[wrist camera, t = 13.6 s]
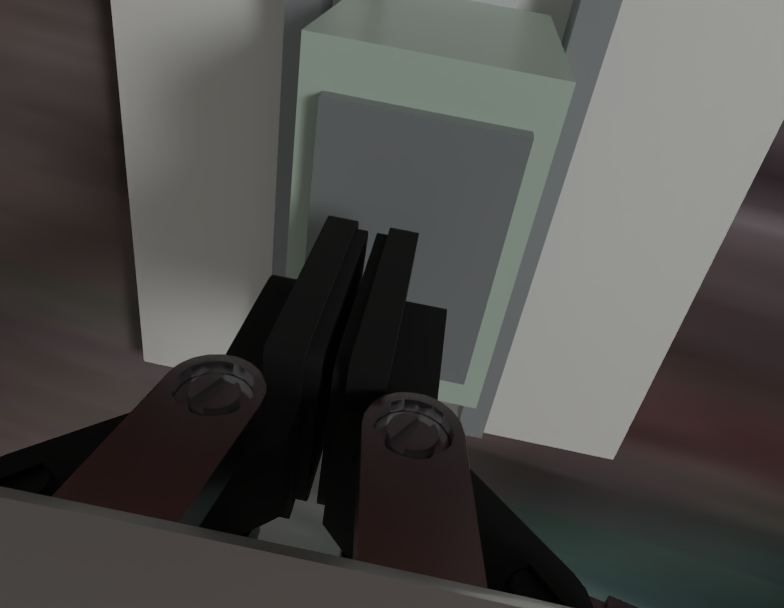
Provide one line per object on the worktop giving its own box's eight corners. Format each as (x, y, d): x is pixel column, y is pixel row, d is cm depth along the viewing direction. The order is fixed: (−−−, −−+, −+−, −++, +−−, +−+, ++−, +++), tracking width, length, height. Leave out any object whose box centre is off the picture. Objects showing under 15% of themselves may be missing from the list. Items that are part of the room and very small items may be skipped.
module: (550, 15, 17) (578, 88, 11) (482, 267, 22) (475, 419, 15) (368, -20, 17) (295, 34, 11) (338, 238, 22) (274, 377, 16)
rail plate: (981, -333, 14) (1069, -372, 12) (609, 438, 27) (618, 486, 25) (93, -478, 15) (22, -541, 12) (156, 344, 28) (128, 382, 26)
